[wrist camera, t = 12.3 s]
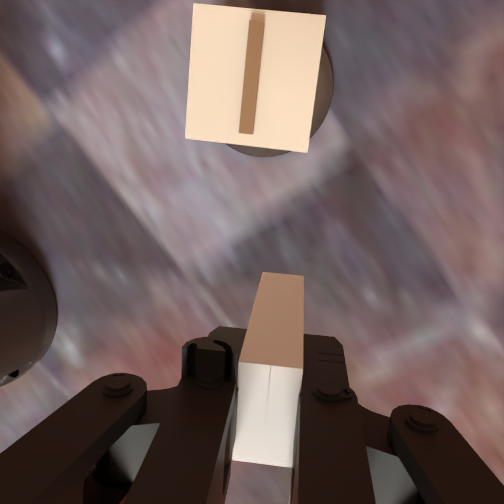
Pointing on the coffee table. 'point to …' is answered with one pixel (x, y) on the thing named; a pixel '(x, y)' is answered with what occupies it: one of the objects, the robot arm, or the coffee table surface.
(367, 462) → the robot arm
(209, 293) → the coffee table surface
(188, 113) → the cream rectangular block
